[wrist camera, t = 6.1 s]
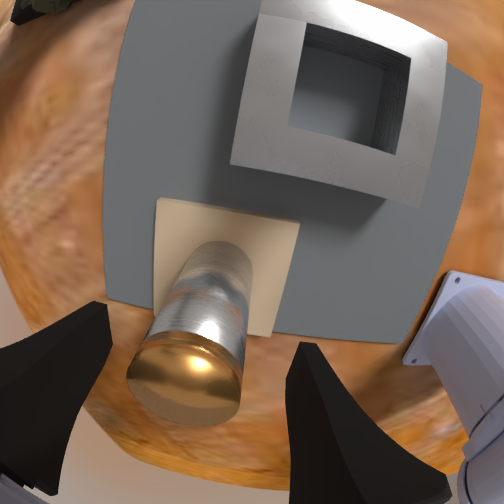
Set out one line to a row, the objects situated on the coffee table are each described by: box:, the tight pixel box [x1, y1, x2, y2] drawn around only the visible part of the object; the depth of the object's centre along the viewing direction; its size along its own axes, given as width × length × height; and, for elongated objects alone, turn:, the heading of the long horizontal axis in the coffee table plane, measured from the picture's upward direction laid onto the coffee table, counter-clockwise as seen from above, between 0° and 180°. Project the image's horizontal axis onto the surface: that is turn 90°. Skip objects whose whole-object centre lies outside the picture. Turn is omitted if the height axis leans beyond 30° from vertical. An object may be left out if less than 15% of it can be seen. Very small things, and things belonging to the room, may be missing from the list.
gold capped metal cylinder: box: [126, 241, 253, 426], centre depth 11 cm, size 3×3×8 cm
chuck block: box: [230, 0, 447, 208], centre depth 10 cm, size 8×8×3 cm
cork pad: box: [154, 197, 300, 337], centre depth 15 cm, size 7×7×1 cm
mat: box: [103, 0, 482, 344], centre depth 13 cm, size 20×18×1 cm
